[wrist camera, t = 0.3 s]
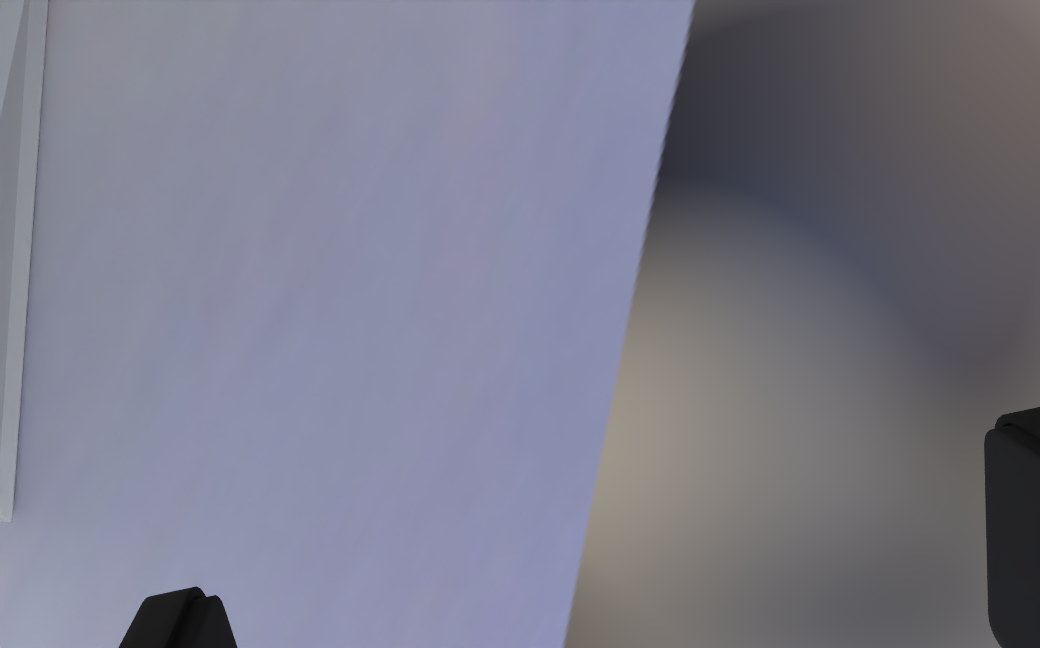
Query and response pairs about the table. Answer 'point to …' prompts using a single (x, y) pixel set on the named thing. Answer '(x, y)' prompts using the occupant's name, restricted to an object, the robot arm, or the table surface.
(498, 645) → the table surface
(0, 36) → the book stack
